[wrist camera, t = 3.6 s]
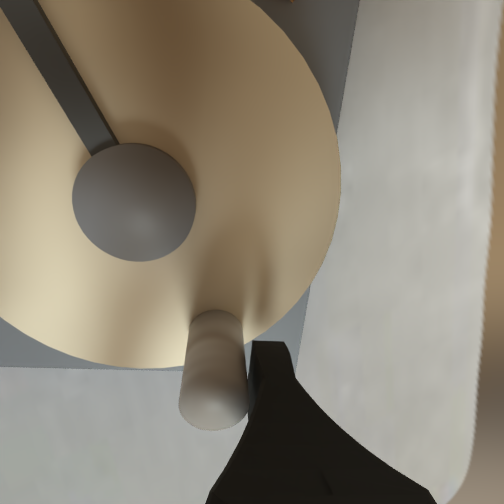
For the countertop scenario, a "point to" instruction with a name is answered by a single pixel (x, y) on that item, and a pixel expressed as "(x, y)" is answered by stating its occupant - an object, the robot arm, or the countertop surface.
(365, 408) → the countertop surface
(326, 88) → the dial board
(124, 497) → the countertop surface
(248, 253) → the cam dial
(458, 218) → the countertop surface
